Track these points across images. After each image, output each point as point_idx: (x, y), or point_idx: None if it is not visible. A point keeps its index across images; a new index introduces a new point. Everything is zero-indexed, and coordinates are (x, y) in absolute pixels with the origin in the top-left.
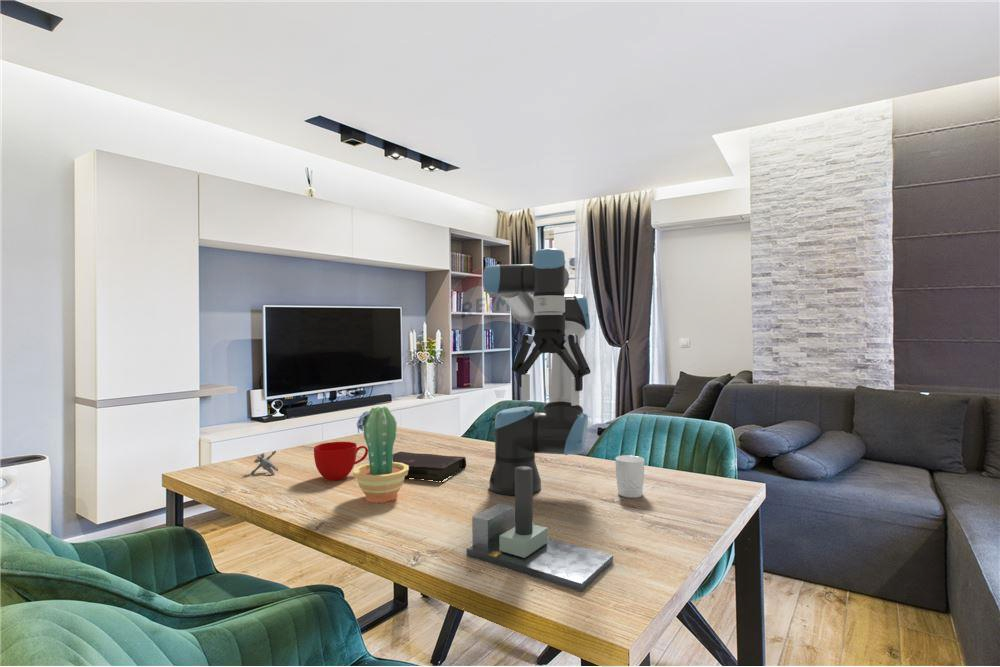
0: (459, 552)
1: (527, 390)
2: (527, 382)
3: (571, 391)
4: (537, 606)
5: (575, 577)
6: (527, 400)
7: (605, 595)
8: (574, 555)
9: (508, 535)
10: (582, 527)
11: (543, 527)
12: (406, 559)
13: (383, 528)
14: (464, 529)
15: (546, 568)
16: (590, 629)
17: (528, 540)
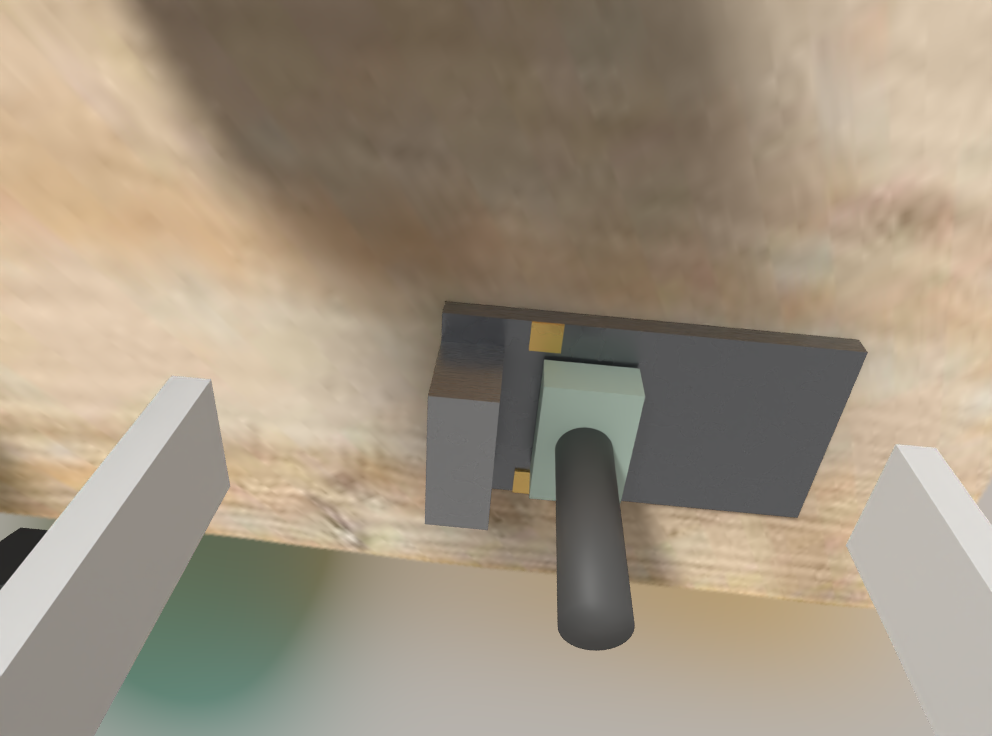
0: (407, 460)
1: (161, 519)
2: (98, 618)
3: (918, 690)
4: (708, 574)
5: (776, 500)
6: (218, 429)
7: (850, 493)
8: (745, 402)
9: (553, 488)
10: (696, 99)
11: (630, 399)
12: (323, 533)
13: (96, 429)
14: (302, 330)
15: (690, 491)
16: (831, 595)
17: (623, 489)
